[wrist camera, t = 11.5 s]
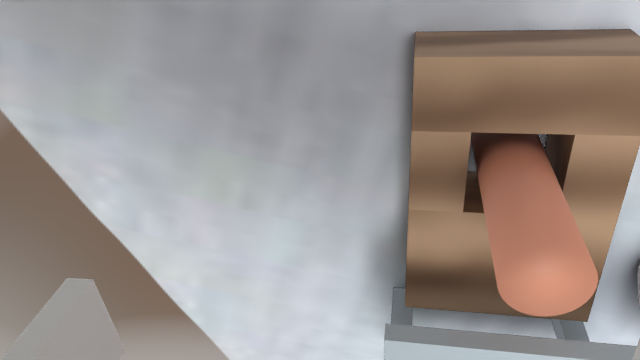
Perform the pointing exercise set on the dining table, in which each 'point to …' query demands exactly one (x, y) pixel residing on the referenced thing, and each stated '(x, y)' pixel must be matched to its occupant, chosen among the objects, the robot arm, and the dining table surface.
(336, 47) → the dining table surface
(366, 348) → the dining table surface
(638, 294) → the cup
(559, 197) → the dowel
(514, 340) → the grey-blue stool
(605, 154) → the socket block
